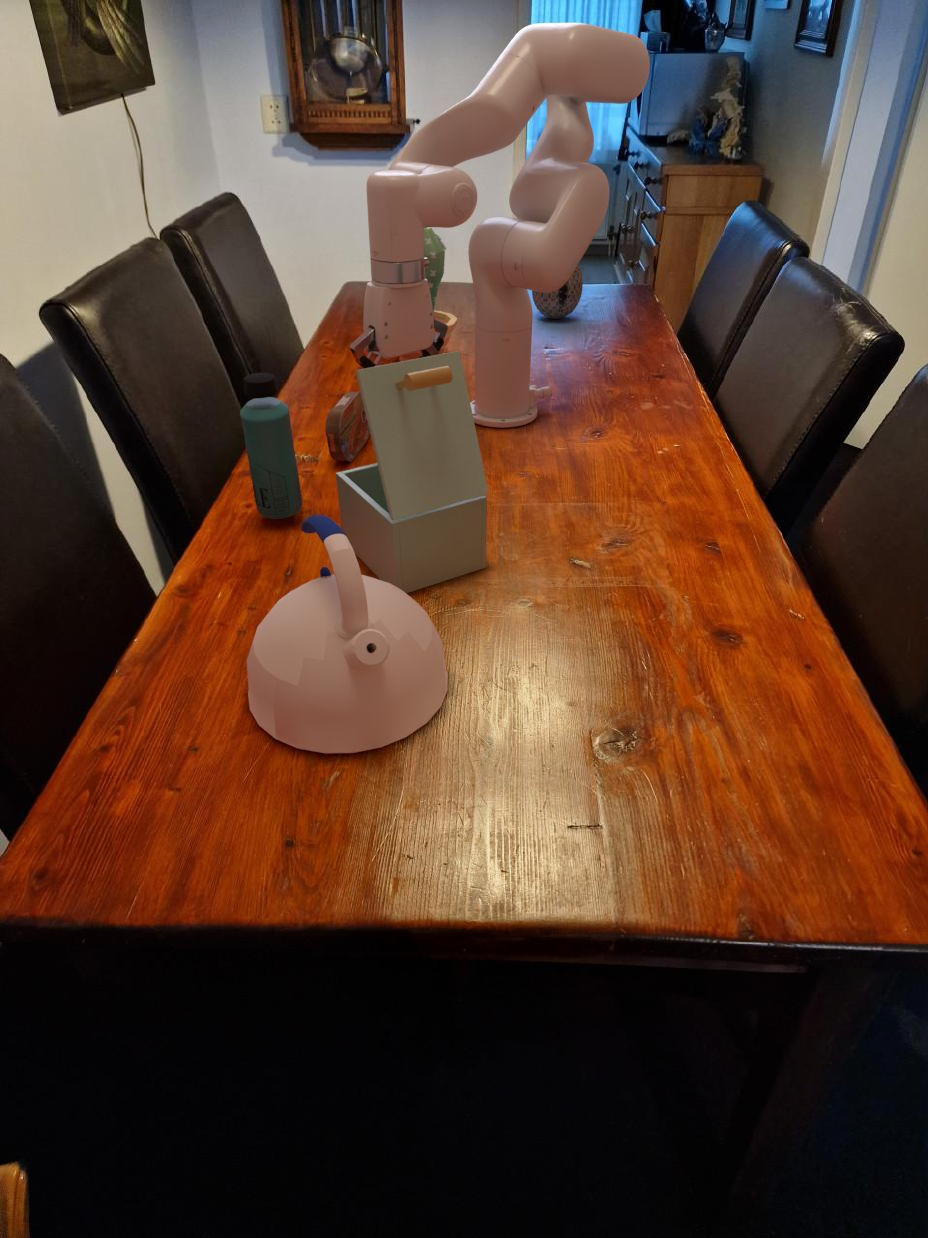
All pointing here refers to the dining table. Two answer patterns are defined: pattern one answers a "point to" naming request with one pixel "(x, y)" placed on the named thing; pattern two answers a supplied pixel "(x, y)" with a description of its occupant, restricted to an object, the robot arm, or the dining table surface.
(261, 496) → the beverage bottle
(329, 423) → the tin
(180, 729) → the dining table surface
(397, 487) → the lid
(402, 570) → the chest
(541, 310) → the decorative egg
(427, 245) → the potted cactus
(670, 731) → the dining table surface
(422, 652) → the kettle
